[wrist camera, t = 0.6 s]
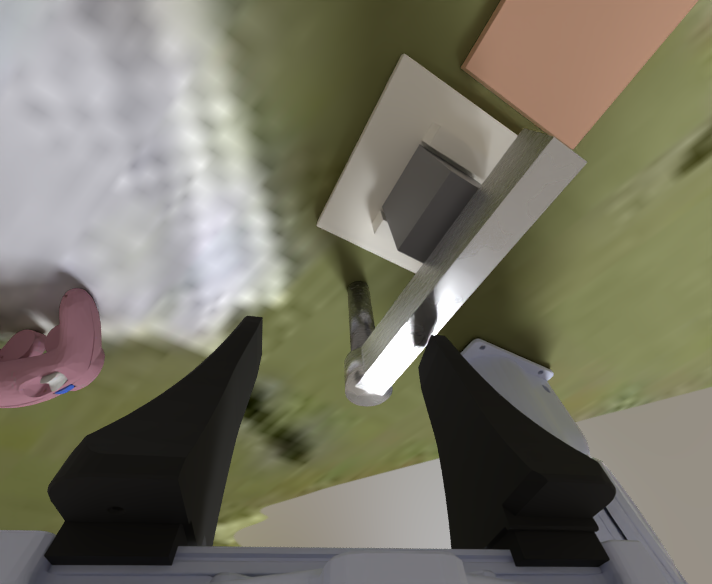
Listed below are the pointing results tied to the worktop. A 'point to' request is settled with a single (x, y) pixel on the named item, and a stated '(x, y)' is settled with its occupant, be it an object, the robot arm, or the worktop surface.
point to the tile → (569, 56)
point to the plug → (426, 203)
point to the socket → (404, 166)
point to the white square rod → (462, 260)
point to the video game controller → (53, 355)
